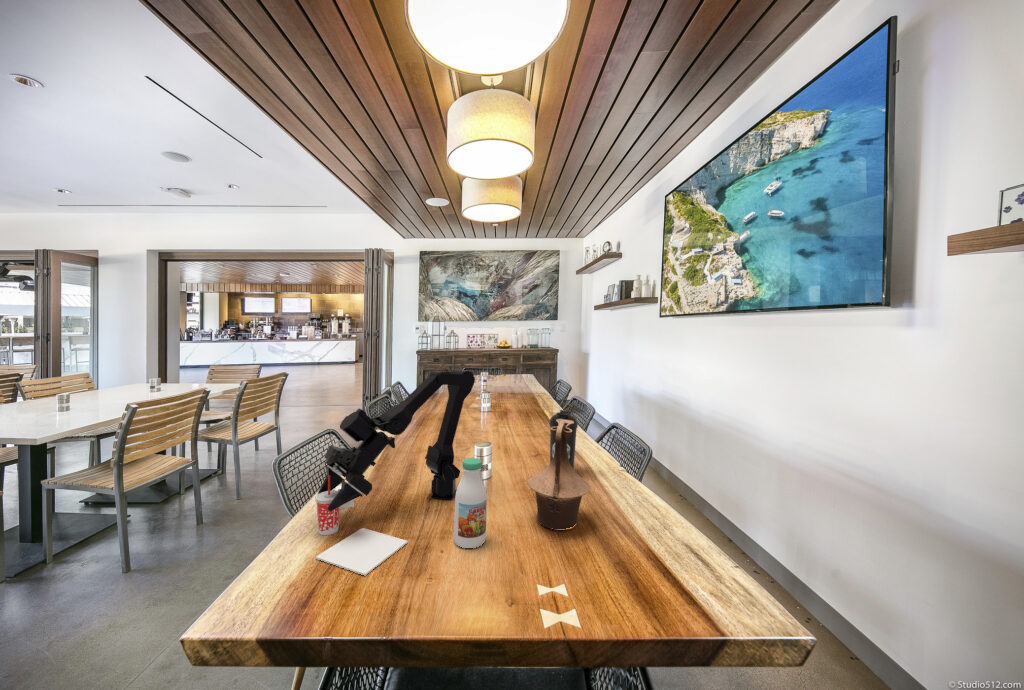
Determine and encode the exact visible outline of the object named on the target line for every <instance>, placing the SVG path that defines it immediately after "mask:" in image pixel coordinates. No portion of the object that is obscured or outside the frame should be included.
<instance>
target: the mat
mask: <svg viewBox="0 0 1024 690" xmlns="http://www.w3.org/2000/svg"><path fill="white" fill-rule="evenodd" d="M407 543H408V544H409V541H408V540H407V539H402V538H399V537H395V536H392V535H389V534H386V533H382V532H378V531H375V530H371V529H368V528H364V527H362V528H360V529H358V530H357V531H356V532H354V533H352V534H350V535H349V536H347V537H345V538H344V539H342V540H340V541H339V542H337V543H336V544H334V545H332V546H331V547H329V548H328V549H326V550H323V552H320V554H317V555H316V556H315V560H316V559H318V560H317V561H319V560H321V561H324V562H327V563H330V564H333V565H336V566H339V567H341V568H344V569H347V570H350V571H353V572H355V573H358V574H361V575H364V576H366V575H367V574H368V573H369V572H370V571H372V570H373V569H374V568H375V567H377V566H378V565H379V564H381V563H382V562H383V561H385V560H386V559H387V558H388V557H390V556H391V555H392V554H394V553H395V552H396V551H398V550H399V549H400V548H401V549H402V547H403V546H404V545H405V544H407ZM408 544H407V545H408ZM405 546H406V545H405ZM405 546H404V547H405ZM404 547H403V548H404ZM401 549H400V550H401ZM400 550H399V551H400ZM399 551H398V552H399ZM396 553H397V552H396ZM396 553H395V554H396ZM395 554H394V555H395ZM392 556H393V555H392ZM392 556H391V557H392ZM391 557H390V558H391ZM387 560H388V559H387ZM387 560H386V561H387ZM321 561H320V562H321ZM386 561H385V562H386ZM324 562H323V563H324ZM327 563H326V564H327ZM383 563H384V562H383ZM383 563H382V564H383ZM330 564H329V565H330ZM382 564H381V565H382ZM333 565H332V566H333ZM336 566H335V567H336ZM378 567H379V566H378ZM378 567H377V568H378ZM341 568H340V569H341ZM344 569H343V570H344ZM347 570H346V571H347ZM350 571H349V572H350ZM373 571H374V570H373ZM373 571H372V572H373ZM353 572H352V573H353ZM355 573H354V574H355ZM358 574H357V575H358ZM369 574H370V573H369ZM369 574H368V575H369ZM361 575H360V576H361ZM368 575H367V576H368ZM364 576H363V577H364ZM367 576H366V577H367Z"/></svg>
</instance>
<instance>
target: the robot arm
mask: <svg viewBox="0 0 1024 690" xmlns="http://www.w3.org/2000/svg"><path fill="white" fill-rule="evenodd" d="M475 382H476V377H475V375H474V373H473V372H472V371H470V370H466V369H465V370H464V369H460V368H459V369H458V368H455V369H453V370H452V371H440V370H439V371H438V370H434V371H432V372H431V373H430V374H429V376H427V378H426V379H425V380H423V381H422V382H421V383H420V384H419V385H418V386H417V387H416V388H415V389H414V390H413V391H412V392H411V393H410V394H409V395H408V396H407V397H406V398H405V399H404V400H402V401H401V402H399V403H398V404H396V405H393V406H391V407H390V408H388V409H387V410H386V411H384V412H383V413H382V414H381V415H378V416H375V417H372V418H371V417H370V416H369V415H367V413H366V412H365V411H364V410H363V409H362V408H358V409H357V410H356V411H353V412H351V413H350V414H348V415H346V416H345V417H344V418H343V420H342V421H341V422H340V425H339V429H340V430H341V431H343V432H344V433H345V434H346V435H347V436H348V437H349V438H351V439H352V440H353V441H355V442H356V443H360V442H361V443H360V444H359V445H358V446H357V447H356V446H352V447H350V448H345V447H343V448H342V447H339V446H335V445H329V446H328V448H327V451H326V453H325V456H324V459H326V461H325V464H327V465H325V471H326V476H325V478H324V480H323V483H322V484H321V486H320V488H319V490H318V492H317V494H316V495H318V494H319V493H322V492H325V491H328V476H329V475H330V491H332V490H334V489H335V488H336V487H337V486H338V485H342V486H341V489H340V491H339V492H338V494H337V495H336V496H335V498H334V499H333V501H332V502H331V503H330V505H329V507H328V508H327V509H328V510H329V511H332V510H334V509H336V508H338V507H340V506H342V505H343V504H345V503H347V502H349V501H351V500H353V499H354V500H355V499H357V498H361V497H363V496H364V495H365V496H368V495H369V494H370V493H371V491H372V490H373V484H372V483H371V482H370V481H369V480H367V479H366V477H365V476H366V475H364V474H365V473H366V471H367V470H368V469H369V468H370V467H371V466H372V467H374V466H375V465H376V464H377V462H375V460H377V458H378V457H379V456H380V455H381V454H382V452H383V451H384V450H385V448H387V446H388V447H390V448H391V449H395V448H396V444H395V440H396V438H395V437H394V436H399V435H402V434H403V433H404V432H405V431H406V429H407V428H408V427H409V425H410V424H411V423H412V421H413V417H414V415H415V414H416V413H417V411H418V410H419V409H421V407H422V406H423V405H425V403H426V402H427V401H428V400H429V399H431V397H432V396H434V394H435V393H436V392H437V391H438V390H440V388H441V387H443V386H446V387H447V392H448V399H447V402H446V406H445V409H444V413H443V414H444V415H443V418H442V421H441V426H440V429H439V433H438V437H437V440H436V442H435V443H434V444H433V445H428V446H427V452H426V455H425V457H424V460H425V464H426V466H427V468H428V469H429V470H430V473H431V474H434V475H433V479H432V480H431V494H432V495H431V496H430V498H431V499H437V500H447V501H451V500H452V499H454V498H455V496H456V490H457V489H456V480H457V479H459V478H460V474H461V470H460V469H459V468H458V467H457V466H456V465H454V463H455V462H454V460H455V452H454V447H453V445H454V441H455V437H456V433H457V428H458V425H459V421H460V418H461V414H462V411H463V406H464V402H465V399H466V398H467V397H468V396H469V395H470V394H471V392H472V390H473V387H474V385H475ZM376 429H377V430H379V431H377V430H376ZM385 432H386V433H388V434H390V435H392V436H388V435H387V434H386V433H385Z"/></svg>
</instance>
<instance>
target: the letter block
mask: <svg viewBox="0 0 1024 690" xmlns="http://www.w3.org/2000/svg"><path fill="white" fill-rule="evenodd" d="M341 486H342V484H340V485H338V486H337V487H336V488H334V489H335V491H340V489H341ZM349 507H352V508H354V507H355V499H353V500H351V501H349V502H347V503H345V504H343V505H342V506H340V510H344V509H349ZM343 508H344V509H343Z"/></svg>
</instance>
